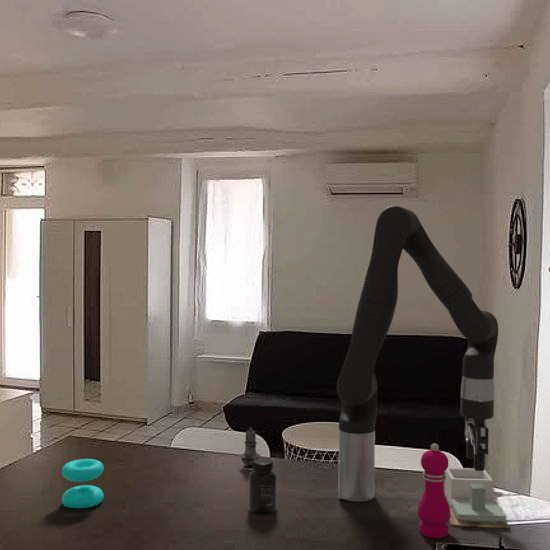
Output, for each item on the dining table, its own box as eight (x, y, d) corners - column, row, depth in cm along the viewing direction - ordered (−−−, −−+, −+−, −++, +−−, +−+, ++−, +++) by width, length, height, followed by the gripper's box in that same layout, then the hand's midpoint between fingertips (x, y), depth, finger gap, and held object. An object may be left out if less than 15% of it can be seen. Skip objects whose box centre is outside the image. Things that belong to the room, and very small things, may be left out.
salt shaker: (257, 471, 187) (258, 430, 187) (238, 470, 188) (238, 428, 188) (262, 465, 193) (262, 425, 193) (243, 464, 194) (243, 423, 194)
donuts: (52, 466, 159) (81, 455, 169) (52, 506, 160) (81, 493, 169) (84, 472, 155) (112, 460, 164) (84, 513, 156) (112, 500, 165)
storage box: (451, 507, 161) (451, 479, 161) (444, 494, 170) (445, 467, 170) (492, 508, 160) (492, 480, 160) (483, 495, 169) (484, 468, 169)
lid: (458, 523, 150) (458, 492, 149) (450, 508, 159) (450, 478, 159) (505, 525, 149) (505, 494, 149) (495, 509, 158) (495, 480, 158)
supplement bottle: (280, 507, 160) (280, 458, 160) (271, 517, 154) (271, 466, 154) (254, 503, 163) (254, 455, 162) (244, 513, 156) (244, 463, 156)
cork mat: (451, 525, 150) (451, 524, 150) (443, 509, 159) (443, 507, 159) (509, 528, 148) (509, 526, 148) (498, 511, 158) (498, 509, 158)
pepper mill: (413, 526, 149) (414, 439, 149) (444, 525, 150) (445, 438, 149) (423, 539, 142) (424, 448, 141) (455, 538, 142) (456, 447, 142)
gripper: (455, 389, 161) (453, 454, 161) (467, 402, 146) (464, 473, 147) (486, 390, 160) (484, 456, 160) (501, 403, 146) (498, 475, 146)
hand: (475, 464), depth 154 cm, fingers open, 8 cm apart
